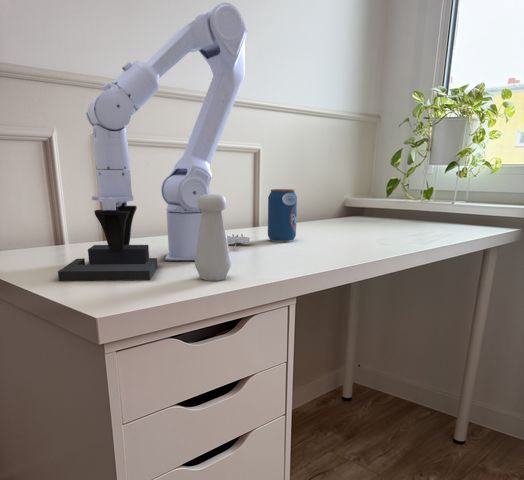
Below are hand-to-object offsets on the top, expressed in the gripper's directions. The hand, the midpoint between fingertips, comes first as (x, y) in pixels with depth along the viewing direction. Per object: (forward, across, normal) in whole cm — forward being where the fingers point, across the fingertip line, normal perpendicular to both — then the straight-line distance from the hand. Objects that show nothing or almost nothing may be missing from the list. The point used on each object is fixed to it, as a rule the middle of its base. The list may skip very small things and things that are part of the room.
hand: (120, 248), depth 95 cm
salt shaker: (+3, +14, +17) cm, 22 cm away
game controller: (+3, -20, +22) cm, 30 cm away
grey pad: (+3, 0, 0) cm, 3 cm away
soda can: (+3, -30, +34) cm, 46 cm away
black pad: (+3, +10, 0) cm, 10 cm away
